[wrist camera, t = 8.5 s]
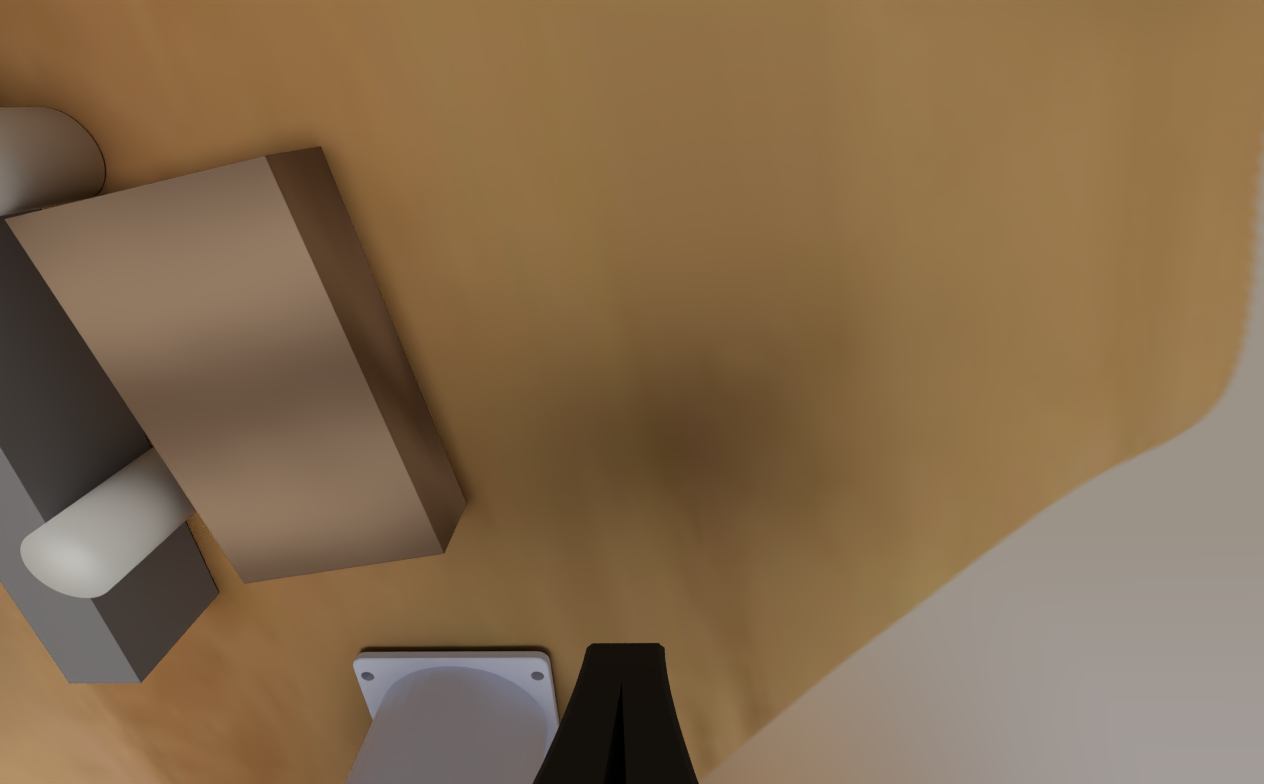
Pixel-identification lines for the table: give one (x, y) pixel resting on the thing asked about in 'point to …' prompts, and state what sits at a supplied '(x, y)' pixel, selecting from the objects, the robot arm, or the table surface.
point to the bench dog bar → (79, 452)
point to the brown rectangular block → (257, 361)
